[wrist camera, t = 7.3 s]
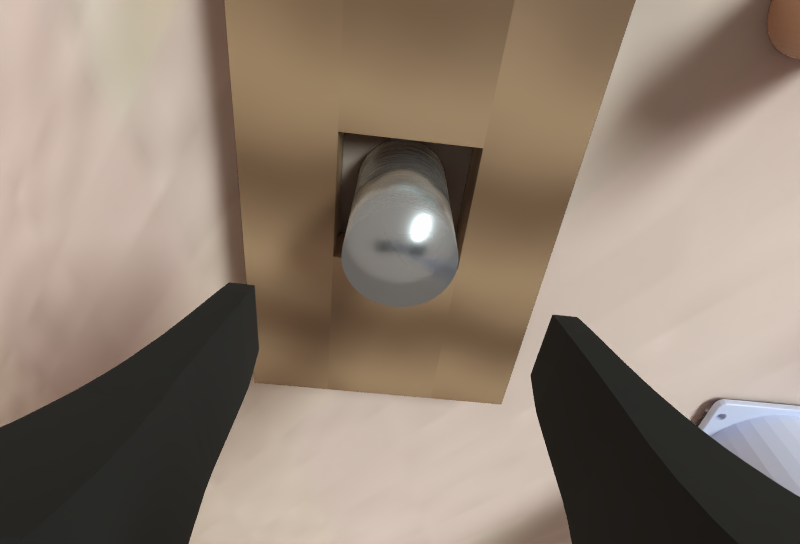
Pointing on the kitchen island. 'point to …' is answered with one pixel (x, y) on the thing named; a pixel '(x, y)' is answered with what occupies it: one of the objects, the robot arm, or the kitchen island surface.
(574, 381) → the robot arm
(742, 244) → the kitchen island surface
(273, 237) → the wooden board with hole
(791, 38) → the terracotta pin
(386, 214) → the steel pin
